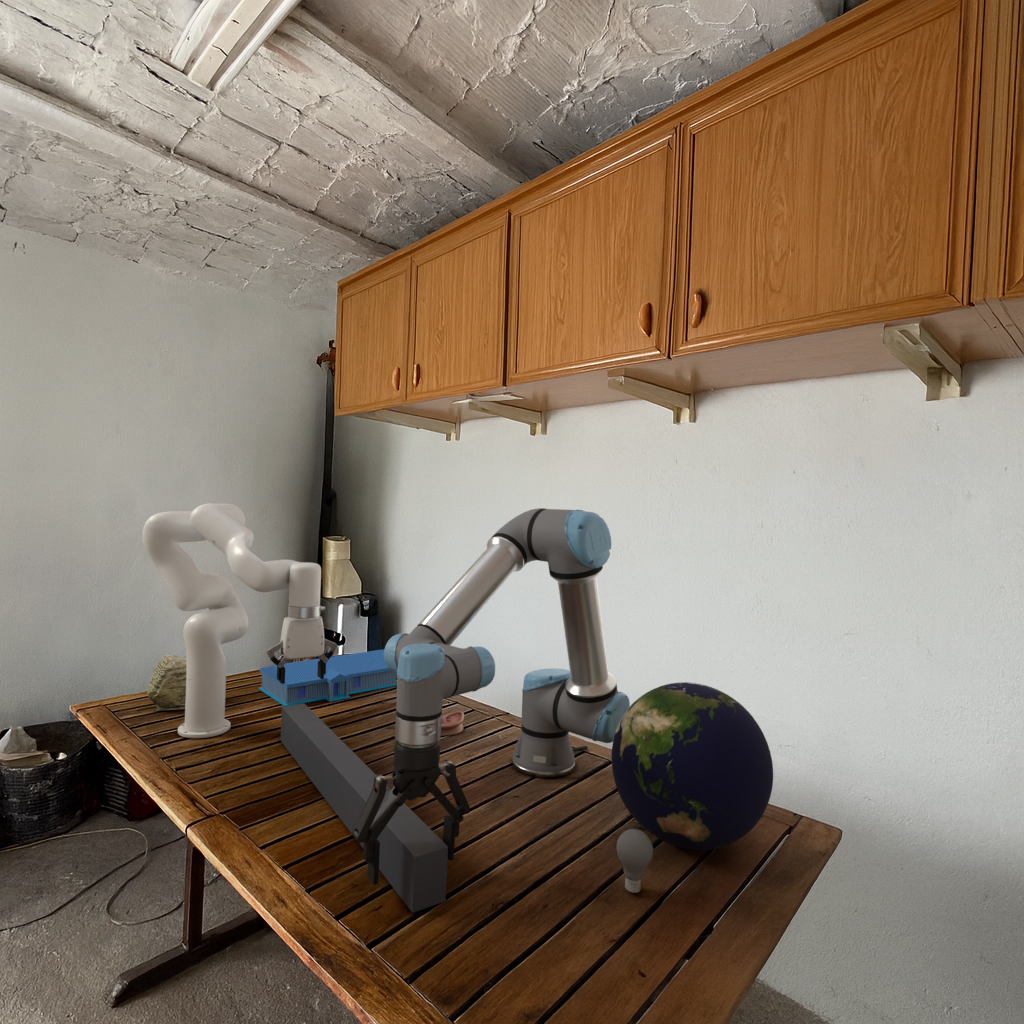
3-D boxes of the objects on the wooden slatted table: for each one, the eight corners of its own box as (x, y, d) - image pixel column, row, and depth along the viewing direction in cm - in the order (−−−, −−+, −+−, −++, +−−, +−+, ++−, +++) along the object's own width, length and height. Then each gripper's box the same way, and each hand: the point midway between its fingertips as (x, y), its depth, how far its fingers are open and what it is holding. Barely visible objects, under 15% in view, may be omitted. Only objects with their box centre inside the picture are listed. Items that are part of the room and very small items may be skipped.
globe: (590, 859, 114) (598, 694, 114) (625, 791, 142) (631, 658, 142) (768, 905, 103) (778, 722, 103) (769, 822, 131) (776, 678, 130)
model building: (289, 709, 186) (291, 675, 185) (258, 688, 204) (259, 657, 204) (403, 687, 212) (405, 657, 212) (366, 670, 230) (368, 643, 230)
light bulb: (610, 879, 108) (613, 822, 108) (644, 879, 109) (647, 822, 109) (619, 902, 102) (622, 840, 102) (655, 901, 103) (658, 840, 103)
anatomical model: (409, 718, 171) (423, 705, 182) (408, 733, 171) (423, 719, 182) (456, 724, 168) (468, 710, 180) (455, 739, 168) (467, 724, 180)
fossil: (144, 707, 182) (145, 655, 182) (212, 696, 194) (213, 647, 194) (151, 716, 175) (153, 662, 175) (221, 703, 188) (223, 653, 188)
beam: (280, 740, 163) (281, 706, 163) (303, 736, 166) (304, 703, 166) (412, 913, 98) (414, 856, 98) (445, 901, 101) (448, 846, 101)
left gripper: (333, 607, 167) (330, 672, 167) (264, 611, 157) (261, 680, 157) (342, 612, 160) (340, 679, 161) (271, 617, 151) (269, 688, 151)
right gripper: (352, 762, 94) (346, 904, 94) (493, 735, 108) (487, 858, 108) (335, 745, 100) (329, 878, 101) (471, 721, 114) (465, 837, 115)
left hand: (301, 679), depth 159 cm, fingers open, 9 cm apart
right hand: (411, 868), depth 105 cm, fingers open, 13 cm apart
